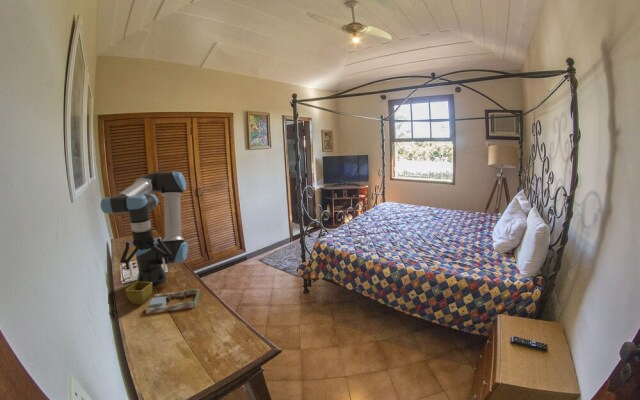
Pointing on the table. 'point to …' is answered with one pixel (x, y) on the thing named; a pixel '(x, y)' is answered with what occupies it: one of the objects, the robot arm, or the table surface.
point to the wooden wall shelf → (177, 306)
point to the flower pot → (139, 292)
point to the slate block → (157, 302)
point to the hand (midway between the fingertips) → (149, 272)
